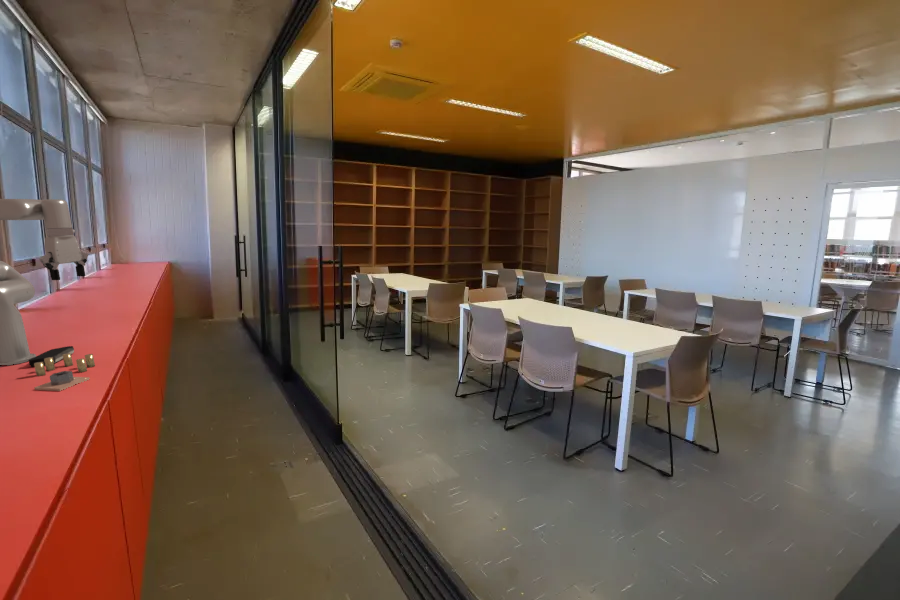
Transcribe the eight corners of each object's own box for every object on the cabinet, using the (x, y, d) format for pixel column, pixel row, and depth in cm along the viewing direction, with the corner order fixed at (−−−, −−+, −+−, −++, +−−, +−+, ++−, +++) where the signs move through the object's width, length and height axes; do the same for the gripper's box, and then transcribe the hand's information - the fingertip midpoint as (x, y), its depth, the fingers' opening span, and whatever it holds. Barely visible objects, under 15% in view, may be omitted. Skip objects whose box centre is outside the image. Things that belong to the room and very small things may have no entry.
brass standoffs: (30, 375, 158) (27, 363, 157) (65, 364, 170) (62, 352, 169) (68, 377, 155) (66, 365, 154) (101, 365, 167) (99, 354, 166)
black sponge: (53, 366, 169) (52, 356, 168) (27, 368, 167) (25, 359, 166) (77, 353, 184) (75, 345, 184) (53, 355, 182) (51, 347, 181)
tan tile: (34, 389, 145) (34, 387, 144) (65, 378, 154) (65, 376, 154) (60, 391, 143) (59, 388, 143) (89, 379, 153) (89, 377, 152)
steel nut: (47, 384, 146) (45, 375, 146) (62, 379, 151) (61, 370, 151) (62, 385, 146) (60, 376, 145) (77, 379, 150) (75, 371, 150)
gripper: (74, 232, 175) (82, 274, 179) (26, 234, 159) (36, 281, 162) (90, 231, 174) (98, 274, 177) (44, 234, 157) (53, 281, 161)
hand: (69, 278), depth 170 cm, fingers open, 9 cm apart
